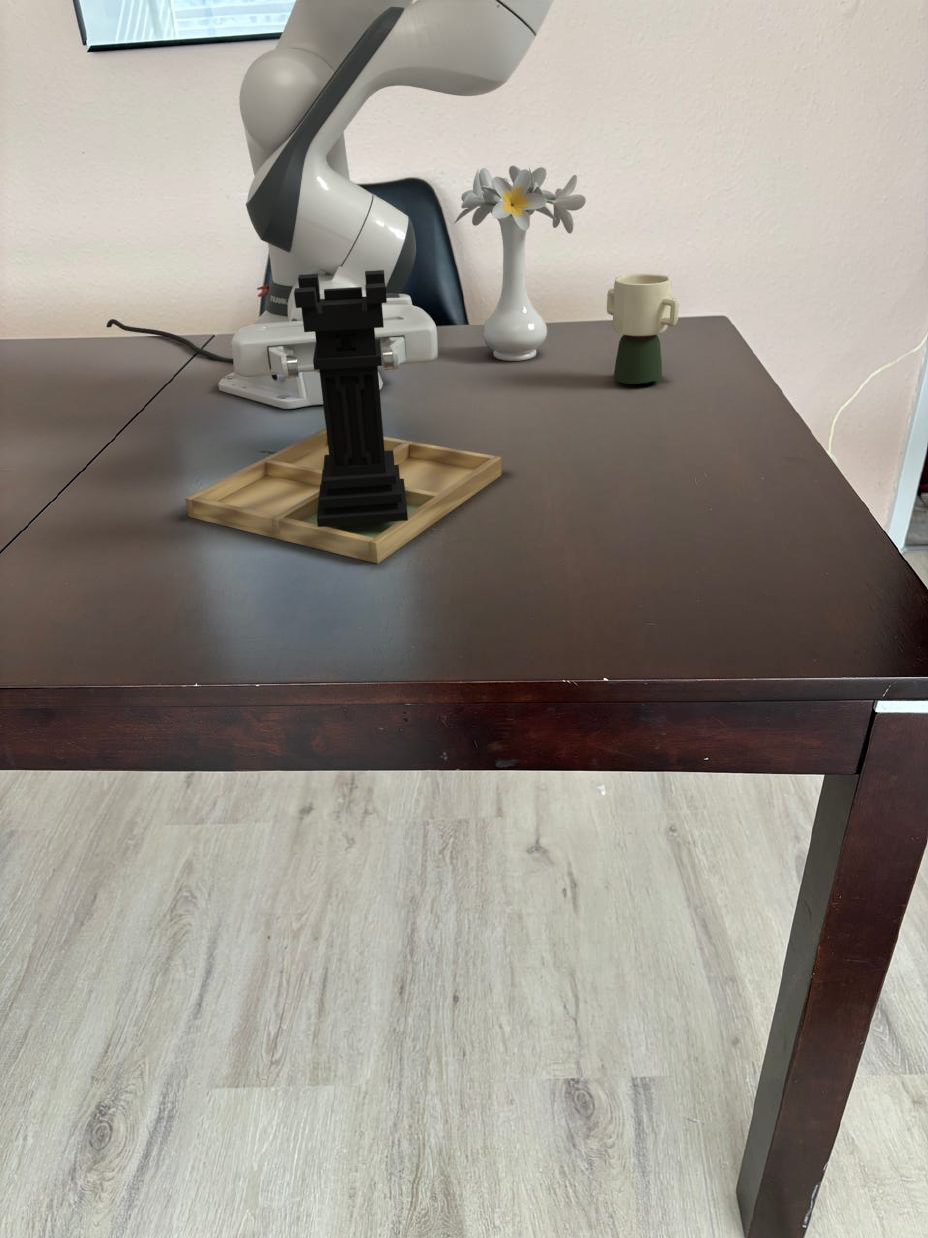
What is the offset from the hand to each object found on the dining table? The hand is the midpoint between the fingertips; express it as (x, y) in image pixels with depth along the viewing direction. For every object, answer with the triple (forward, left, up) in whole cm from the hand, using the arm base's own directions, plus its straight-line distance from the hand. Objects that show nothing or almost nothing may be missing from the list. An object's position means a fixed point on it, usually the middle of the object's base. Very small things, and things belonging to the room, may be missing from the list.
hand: (340, 365), depth 89 cm
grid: (0, -1, -13) cm, 13 cm away
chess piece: (+5, -6, -11) cm, 14 cm away
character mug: (+12, +46, -13) cm, 50 cm away
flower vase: (-9, +52, -13) cm, 55 cm away
